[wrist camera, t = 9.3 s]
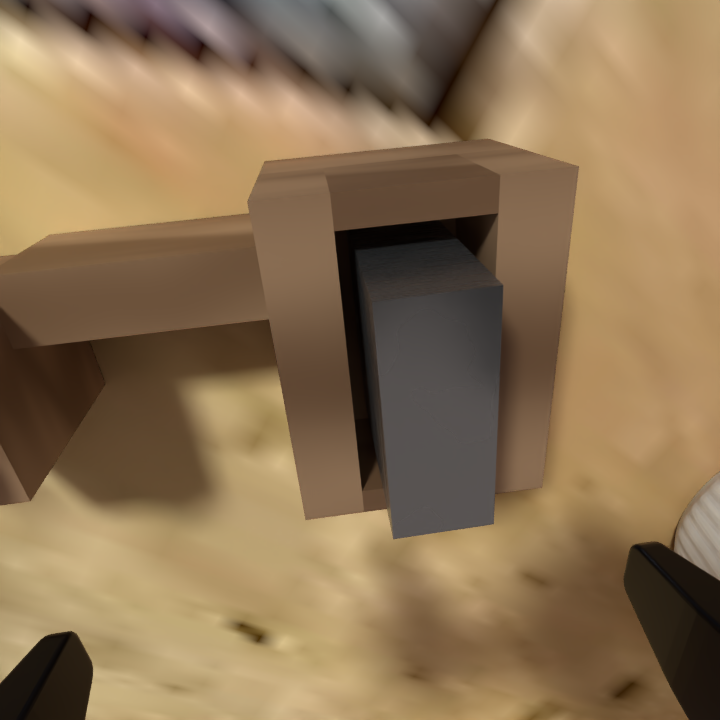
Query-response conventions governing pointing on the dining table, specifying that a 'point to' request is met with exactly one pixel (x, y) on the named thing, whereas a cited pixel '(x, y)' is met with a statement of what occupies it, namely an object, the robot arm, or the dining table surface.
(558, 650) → the dining table surface
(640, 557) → the robot arm
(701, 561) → the ramekin
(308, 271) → the wooden hollow frame
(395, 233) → the tall grey upright block
